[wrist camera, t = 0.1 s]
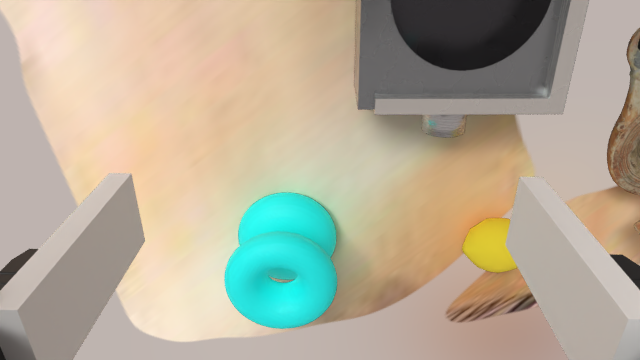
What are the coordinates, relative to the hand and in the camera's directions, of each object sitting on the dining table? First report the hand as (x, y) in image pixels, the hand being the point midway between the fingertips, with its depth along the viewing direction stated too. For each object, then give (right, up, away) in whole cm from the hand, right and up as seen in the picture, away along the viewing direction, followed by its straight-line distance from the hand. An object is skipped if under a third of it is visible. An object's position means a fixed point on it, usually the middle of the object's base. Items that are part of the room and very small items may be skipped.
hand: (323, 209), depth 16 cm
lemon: (+18, -4, +33) cm, 38 cm away
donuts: (-3, -4, +34) cm, 34 cm away
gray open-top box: (+10, +16, +23) cm, 30 cm away
